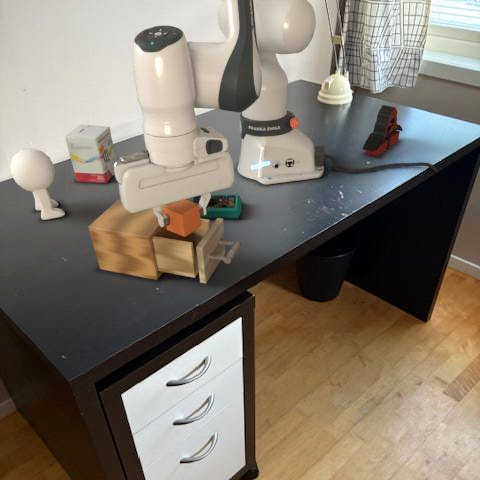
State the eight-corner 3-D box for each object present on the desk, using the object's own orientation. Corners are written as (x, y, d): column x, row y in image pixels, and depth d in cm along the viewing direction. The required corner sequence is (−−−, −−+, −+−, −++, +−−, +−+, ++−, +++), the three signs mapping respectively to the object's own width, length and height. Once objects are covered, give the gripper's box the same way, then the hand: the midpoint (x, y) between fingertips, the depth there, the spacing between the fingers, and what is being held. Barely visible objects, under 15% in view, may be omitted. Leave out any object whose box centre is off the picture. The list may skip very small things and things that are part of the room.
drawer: (245, 256, 94) (244, 221, 89) (227, 287, 87) (225, 252, 81) (173, 244, 98) (168, 210, 93) (150, 273, 91) (143, 238, 86)
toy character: (72, 215, 110) (53, 151, 100) (33, 226, 107) (9, 162, 97) (61, 199, 116) (41, 138, 106) (23, 210, 113) (-1, 148, 103)
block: (183, 219, 90) (180, 197, 87) (201, 226, 88) (198, 204, 85) (166, 229, 88) (163, 207, 85) (184, 237, 85) (181, 214, 82)
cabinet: (182, 247, 99) (176, 205, 92) (157, 280, 91) (148, 237, 84) (128, 238, 102) (119, 197, 96) (99, 269, 94) (87, 227, 88)
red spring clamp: (389, 136, 138) (397, 95, 131) (401, 138, 137) (409, 98, 129) (360, 158, 128) (366, 115, 120) (372, 161, 126) (379, 118, 119)
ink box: (106, 183, 122) (95, 137, 114) (76, 181, 123) (63, 136, 115) (119, 169, 128) (109, 124, 120) (90, 167, 130) (78, 123, 122)
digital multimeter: (241, 219, 106) (241, 207, 104) (175, 220, 107) (173, 209, 105) (242, 203, 112) (241, 192, 110) (179, 204, 112) (177, 193, 110)
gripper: (116, 166, 72) (133, 243, 81) (236, 138, 78) (240, 213, 88) (105, 151, 76) (122, 226, 86) (220, 126, 83) (225, 198, 92)
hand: (183, 219), depth 87 cm, fingers closed on block, 6 cm apart
